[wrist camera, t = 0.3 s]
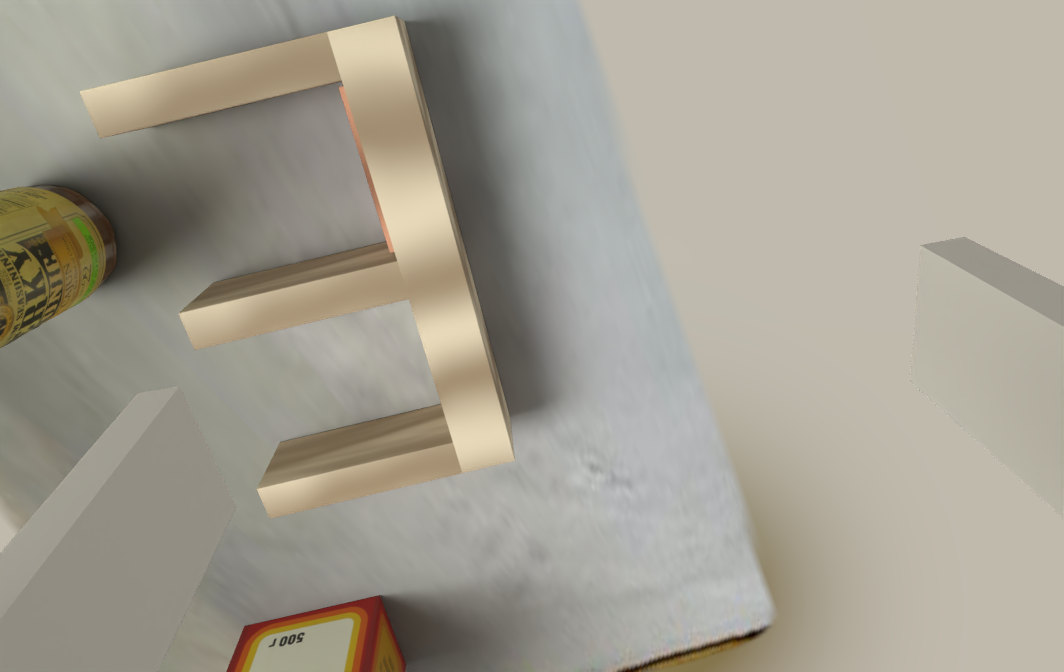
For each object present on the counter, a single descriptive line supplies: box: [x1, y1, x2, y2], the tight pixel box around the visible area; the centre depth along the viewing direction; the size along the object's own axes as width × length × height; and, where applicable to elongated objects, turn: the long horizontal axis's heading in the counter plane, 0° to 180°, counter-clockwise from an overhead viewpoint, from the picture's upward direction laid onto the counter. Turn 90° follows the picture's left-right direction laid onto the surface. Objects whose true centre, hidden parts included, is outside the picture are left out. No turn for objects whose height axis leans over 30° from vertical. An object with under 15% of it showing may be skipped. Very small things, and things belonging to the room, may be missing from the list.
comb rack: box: [79, 16, 515, 518], centre depth 37 cm, size 23×14×5 cm, turn 13°
